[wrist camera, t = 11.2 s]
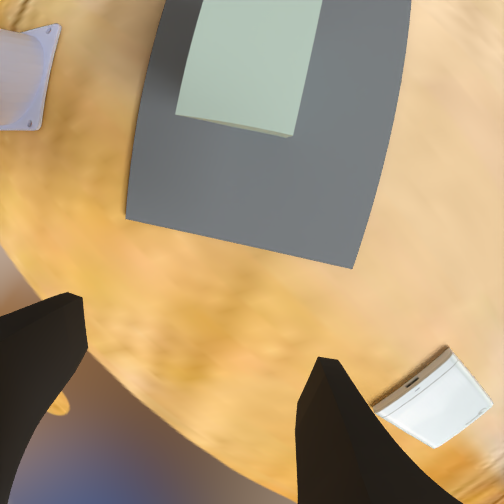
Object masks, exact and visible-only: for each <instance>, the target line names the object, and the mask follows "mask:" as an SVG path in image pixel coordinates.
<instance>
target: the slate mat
mask: <svg viewBox="0 0 504 504" xmlns="http://www.w3.org/2000/svg"><path fill="white" fill-rule="evenodd" d="M202 3H203V0H166V3H165V6H164V9H163V13H162V16H161V19H160V23H159V26H158V30H157V33H156V37H155V41H154V44H153V48H152V52H151V56H150V60H149V65H148V69H147V73H146V78H145V83H144V87H143V92H142V97H141V102H140V108H139V113H138V119H137V125H136V131H135V138H134V144H133V152H132V159H131V167H130V176H129V185H128V195H127V207H126V219H129V220H133V221H138V222H142V223H147V224H152V225H156V226H161V227H165V228H170V229H174V230H179V231H183V232H188V233H193V234H197V235H202V236H206V237H211V238H215V239H220V240H224V241H229V242H233V243H238V244H242V245H247V246H251V247H256V248H260V249H265V250H269V251H274V252H278V253H283V254H287V255H292V256H296V257H301V258H305V259H309V260H314V261H318V262H323V263H327V264H332V265H336V266H340V267H345V268H349V269H353V266H354V263H355V260H356V257H357V254H358V251H359V248H360V245H361V241H362V238H363V235H364V232H365V229H366V225H367V222H368V219H369V215H370V212H371V209H372V205H373V202H374V198H375V195H376V191H377V187H378V184H379V180H380V176H381V172H382V168H383V164H384V160H385V156H386V152H387V148H388V144H389V139H390V135H391V130H392V126H393V121H394V116H395V111H396V106H397V101H398V96H399V90H400V85H401V79H402V73H403V67H404V60H405V53H406V46H407V38H408V30H409V21H410V10H411V0H322V5H321V10H320V14H319V19H318V24H317V29H316V33H315V38H314V43H313V47H312V52H311V57H310V61H309V66H308V71H307V75H306V80H305V84H304V89H303V93H302V98H301V102H300V107H299V111H298V116H297V120H296V125H295V129H294V133H293V136H291V137H288V138H284V137H279V136H275V135H270V134H265V133H261V132H256V131H251V130H246V129H240V128H235V127H230V126H226V125H221V124H217V123H213V122H208V121H204V120H199V119H195V118H190V117H185V116H180V115H175V113H176V108H177V103H178V98H179V93H180V88H181V84H182V79H183V75H184V71H185V66H186V62H187V58H188V54H189V50H190V46H191V42H192V39H193V35H194V31H195V28H196V24H197V20H198V17H199V14H200V10H201V7H202Z"/></svg>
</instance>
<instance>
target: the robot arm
mask: <svg viewBox="0 0 504 504" xmlns="http://www.w3.org/2000/svg"><path fill="white" fill-rule="evenodd" d="M50 30H51V31H50ZM49 32H50V33H49ZM60 32H61V25H59V24H52V25H48V26H43V27H39V28H36V29H32V30H28V31H25V32H21V33H18V32H13V31H9V30H4V29H0V130H31V131H34V130H39V129H40V127H41V124H42V117H43V110H44V104H45V97H46V92H47V86H48V81H49V76H50V71H51V67H52V62H53V58H54V54H55V50H56V46H57V42H58V39H59V35H60ZM31 121H32V125H31ZM87 349H88V343H87V336H86V328H85V319H84V309H83V298H82V297H80V296H77V295H74V294H71V293H69V292H66V293H63V294H59V295H56V296H53V297H51V298H48V299H45V300H43V301H40V302H38V303H35V304H32V305H30V306H27V307H25V308H22V309H19V310H17V311H14V312H12V313H9V314H6V315H4V316H1V317H0V504H7V503H8V499H9V495H10V491H11V487H12V484H13V481H14V478H15V474H16V472H17V469H18V466H19V464H20V461H21V458H22V456H23V454H24V451H25V449H26V447H27V445H28V443H29V441H30V439H31V436H32V435H33V432H34V430H35V429H36V427H37V425H38V424H39V422H40V420H41V419H42V417H43V416H44V414H45V413H46V411H47V410H48V409H49V407H50V406H51V404H52V403H53V402H54V400H55V399H56V398H57V396H58V395H59V393H60V392H61V391H62V389H63V388H64V386H65V385H66V384H67V382H68V381H69V380H70V378H71V377H72V375H73V374H74V373H75V371H76V369H77V367H78V366H79V364H80V362H81V360H82V358H83V357H84V355H85V353H86V351H87ZM295 440H296V462H297V484H298V504H463V503H461V502H460V501H458V500H457V499H456V498H454V497H453V496H452V495H450V494H449V493H448V492H446V491H445V490H444V489H443V488H441V487H440V486H439V485H438V484H437V483H436V482H434V481H433V480H432V479H431V478H430V477H429V476H427V475H426V474H425V473H424V472H423V471H422V470H421V469H420V468H419V467H418V466H417V465H416V464H415V463H414V462H413V461H412V460H411V458H410V457H409V456H408V455H407V454H406V453H405V452H404V451H403V450H402V449H401V448H400V446H399V445H398V444H397V443H396V442H395V441H394V439H393V438H392V437H391V435H390V434H389V433H388V432H387V430H386V429H385V428H384V427H383V425H382V424H381V423H380V421H379V420H378V419H377V417H376V416H375V414H374V413H373V412H372V410H371V409H370V407H369V406H368V404H367V403H366V402H365V400H364V399H363V397H362V396H361V394H360V393H359V391H358V390H357V388H356V386H355V385H354V383H353V382H352V380H351V379H350V377H349V376H348V374H347V373H346V371H345V369H344V368H343V366H342V365H341V363H340V362H339V361H338V360H336V359H329V358H323V357H318V358H317V360H316V363H315V365H314V367H313V370H312V372H311V374H310V376H309V379H308V381H307V383H306V385H305V387H304V390H303V392H302V394H301V396H300V398H299V400H298V403H297V414H296V427H295Z"/></svg>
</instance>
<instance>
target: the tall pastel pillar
mask: <svg viewBox="0 0 504 504" xmlns="http://www.w3.org/2000/svg"><path fill="white" fill-rule="evenodd" d="M321 5H322V0H203V3H202V7H201V10H200V14H199V17H198V20H197V24H196V28H195V31H194V35H193V39H192V42H191V46H190V50H189V54H188V58H187V62H186V66H185V71H184V75H183V79H182V84H181V88H180V93H179V98H178V103H177V108H176V113H175V115H180V116H185V117H190V118H195V119H199V120H204V121H208V122H213V123H217V124H221V125H226V126H230V127H235V128H240V129H246V130H251V131H256V132H261V133H265V134H270V135H275V136H279V137H284V138H288V137H291V136H293V133H294V129H295V125H296V120H297V116H298V111H299V107H300V102H301V98H302V93H303V89H304V84H305V80H306V75H307V71H308V66H309V61H310V57H311V52H312V47H313V43H314V38H315V33H316V29H317V24H318V19H319V14H320V10H321Z"/></svg>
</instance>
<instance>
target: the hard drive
mask: <svg viewBox="0 0 504 504" xmlns="http://www.w3.org/2000/svg"><path fill="white" fill-rule="evenodd" d="M492 405H493V401H492V400H491V398H490V397H489V395H488V394H487V393H486V391H485V390H484V389H483V388H482V386H481V385H480V384H479V382H478V381H477V380H476V379H475V377H474V376H473V375H472V374H471V373H470V371H469V370H468V369H467V368H466V366H465V365H464V364H463V363H462V362H461V360H460V359H459V358H458V357H457V356H456V355H455V353H454V352H453V351H452V350H451V349H450V348H448V349H447V350H445V351H444V352H443V353H442V354H441V355H440V356H439V357H437V358H436V359H435V360H434V361H433V362H432V363H430V364H429V365H428V366H427V367H425V368H424V369H423V370H422V371H421V372H419V373H418V374H417V375H416V376H414V377H413V378H412V379H410V380H409V381H408V382H407V383H405V384H404V385H403V386H401V387H400V388H399V389H397V390H396V391H394V392H393V393H392V394H390V395H389V396H388V397H386V398H385V399H383V400H382V401H380V402H379V403H377V404H376V405H375V406H373V410H374V413H375V414H377V415H378V416H380V417H382V418H383V419H385V420H386V421H388V422H390V423H392V424H393V425H395V426H396V427H398V428H400V429H401V430H403V431H404V432H406V433H408V434H409V435H411V436H413V437H414V438H416V439H418V440H420V441H421V442H423V443H425V444H426V445H428V446H430V447H432V448H433V449H435V448H437V447H439V446H441V445H442V444H444V443H445V442H447V441H448V440H449V439H451V438H452V437H454V436H455V435H456V434H458V433H459V432H461V431H462V430H463V429H465V428H466V427H467V426H469V425H470V424H471V423H472V422H474V421H475V420H476V419H478V418H479V417H480V416H481V415H483V414H484V413H485V412H486V411H487V410H489V409H490V408H491V407H492Z"/></svg>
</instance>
